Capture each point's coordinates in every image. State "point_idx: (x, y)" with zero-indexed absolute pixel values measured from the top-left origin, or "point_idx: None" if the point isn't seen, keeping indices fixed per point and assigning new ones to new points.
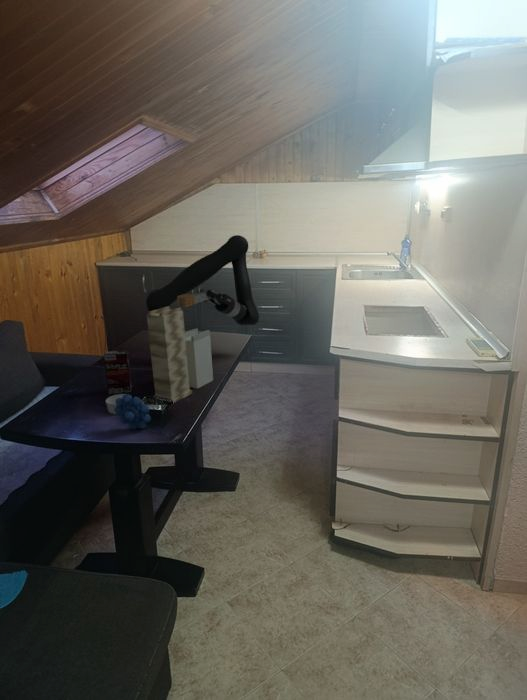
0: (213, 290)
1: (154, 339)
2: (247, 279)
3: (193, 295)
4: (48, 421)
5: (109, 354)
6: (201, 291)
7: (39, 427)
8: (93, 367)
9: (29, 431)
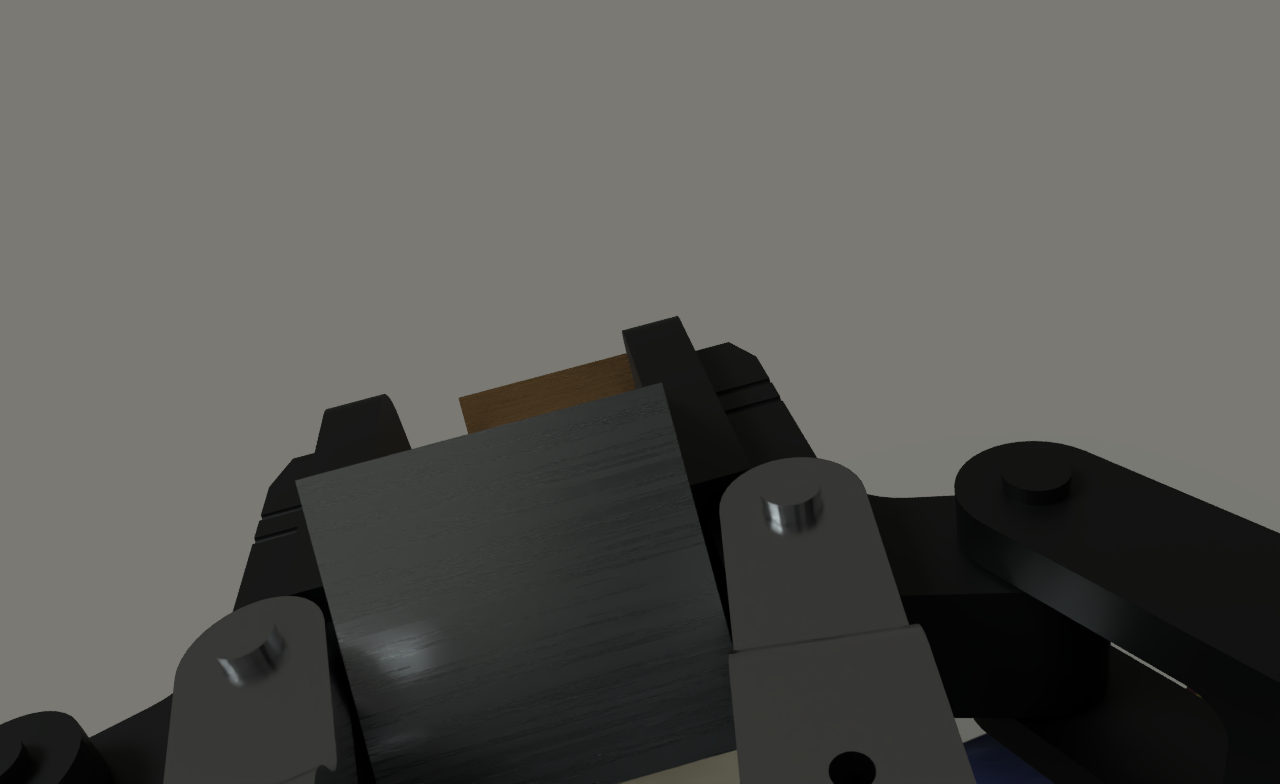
0: (318, 488)
1: None
2: None
3: (467, 417)
4: (1037, 776)
5: (1193, 692)
6: (635, 387)
7: (996, 760)
8: None
9: (983, 743)
